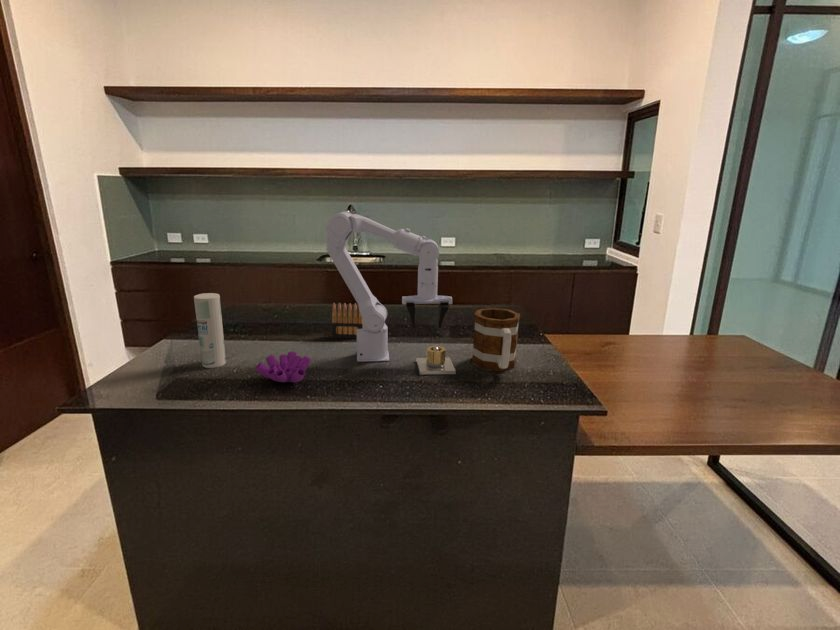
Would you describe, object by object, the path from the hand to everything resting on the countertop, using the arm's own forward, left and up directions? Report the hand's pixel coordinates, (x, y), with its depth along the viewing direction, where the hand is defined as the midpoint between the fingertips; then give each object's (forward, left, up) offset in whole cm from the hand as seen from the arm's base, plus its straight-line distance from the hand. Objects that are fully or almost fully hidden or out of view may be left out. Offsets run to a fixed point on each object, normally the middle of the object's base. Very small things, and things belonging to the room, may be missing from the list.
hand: (426, 327), depth 139 cm
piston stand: (+2, -7, -10) cm, 12 cm away
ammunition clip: (-24, +21, -10) cm, 33 cm away
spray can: (-61, -1, -10) cm, 62 cm away
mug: (+20, -7, -10) cm, 24 cm away
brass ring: (+2, -7, -8) cm, 11 cm away
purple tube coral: (-39, -13, -10) cm, 42 cm away
